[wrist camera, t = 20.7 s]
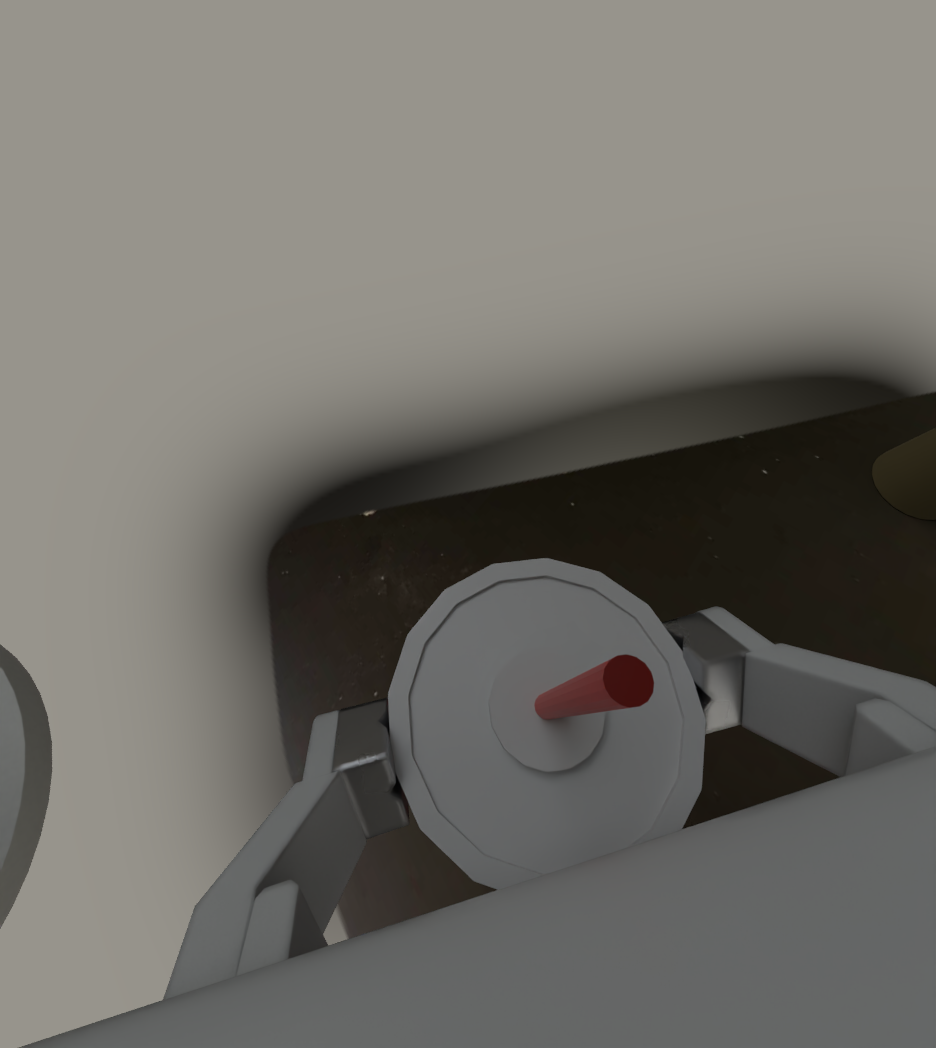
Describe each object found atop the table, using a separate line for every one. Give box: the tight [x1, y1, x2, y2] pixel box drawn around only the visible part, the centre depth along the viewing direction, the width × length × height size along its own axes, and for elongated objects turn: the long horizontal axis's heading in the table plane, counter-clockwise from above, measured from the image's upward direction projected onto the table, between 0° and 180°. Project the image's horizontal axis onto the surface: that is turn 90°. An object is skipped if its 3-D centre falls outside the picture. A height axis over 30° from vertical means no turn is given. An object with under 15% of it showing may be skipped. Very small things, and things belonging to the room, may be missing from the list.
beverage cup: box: [388, 558, 706, 890], centre depth 11 cm, size 6×6×14 cm
